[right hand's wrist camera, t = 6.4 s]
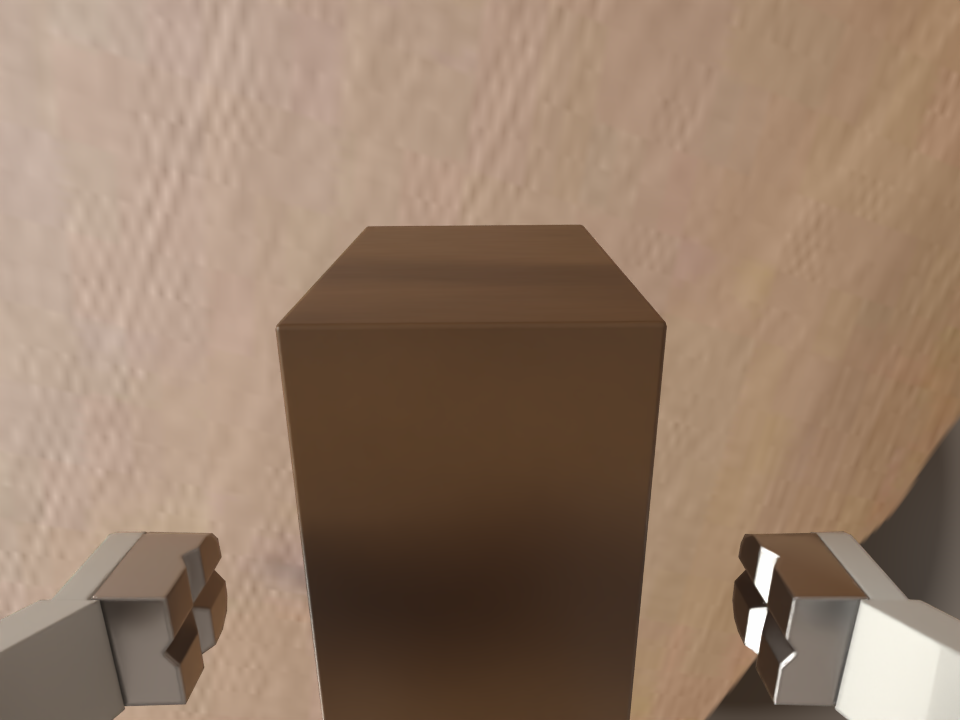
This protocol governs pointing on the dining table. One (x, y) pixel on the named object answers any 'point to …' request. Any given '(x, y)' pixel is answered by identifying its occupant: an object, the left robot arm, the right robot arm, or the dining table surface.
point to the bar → (473, 472)
